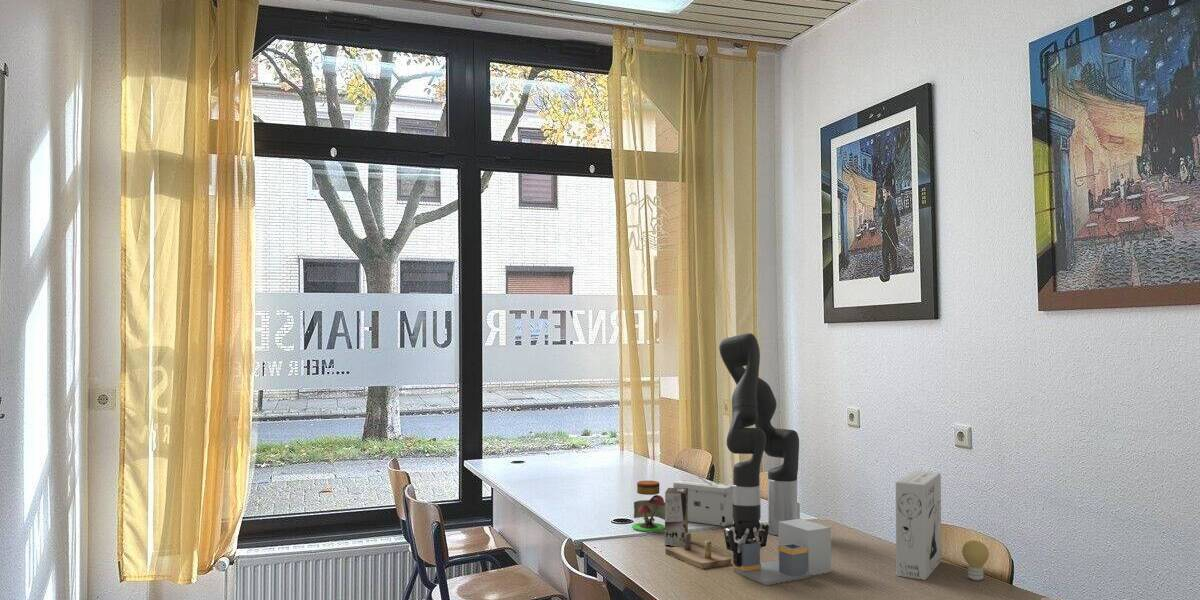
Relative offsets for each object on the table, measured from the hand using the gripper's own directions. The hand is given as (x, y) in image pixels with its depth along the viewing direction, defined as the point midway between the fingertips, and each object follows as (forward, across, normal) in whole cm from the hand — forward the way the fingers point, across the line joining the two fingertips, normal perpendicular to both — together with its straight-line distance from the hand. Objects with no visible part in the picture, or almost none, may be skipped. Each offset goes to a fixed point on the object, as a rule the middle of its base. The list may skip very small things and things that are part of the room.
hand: (746, 564), depth 232 cm
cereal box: (+2, -44, +20) cm, 48 cm away
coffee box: (+2, -1, -35) cm, 35 cm away
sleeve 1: (+1, 0, 0) cm, 1 cm away
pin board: (+2, +4, -17) cm, 18 cm away
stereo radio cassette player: (+2, -25, -54) cm, 60 cm away
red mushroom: (+2, -4, -55) cm, 55 cm away
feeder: (+2, -8, +5) cm, 10 cm away
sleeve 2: (+1, -8, +9) cm, 12 cm away
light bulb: (+2, -49, +34) cm, 60 cm away
